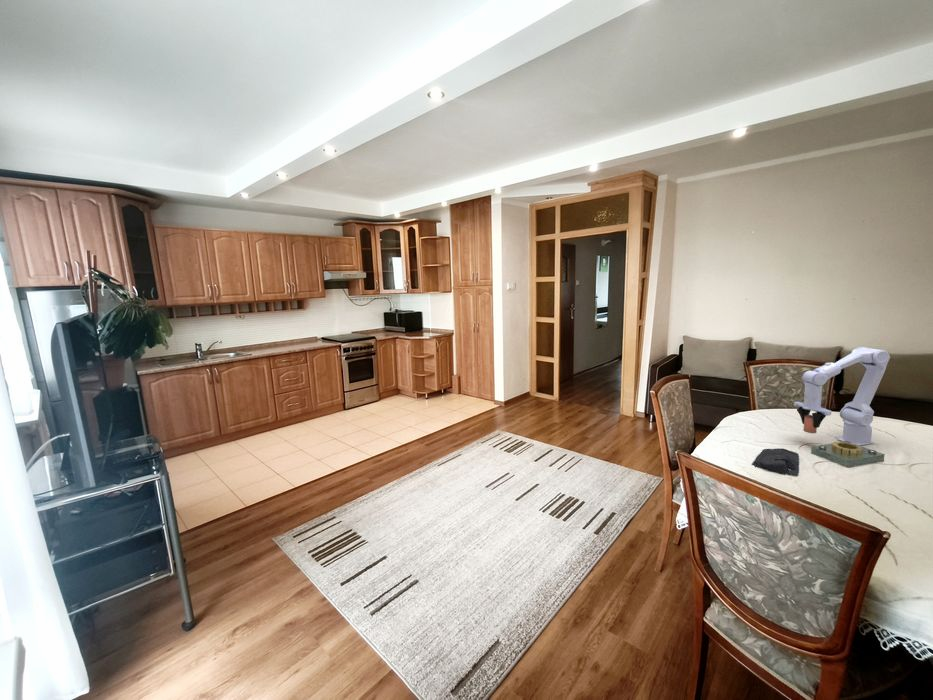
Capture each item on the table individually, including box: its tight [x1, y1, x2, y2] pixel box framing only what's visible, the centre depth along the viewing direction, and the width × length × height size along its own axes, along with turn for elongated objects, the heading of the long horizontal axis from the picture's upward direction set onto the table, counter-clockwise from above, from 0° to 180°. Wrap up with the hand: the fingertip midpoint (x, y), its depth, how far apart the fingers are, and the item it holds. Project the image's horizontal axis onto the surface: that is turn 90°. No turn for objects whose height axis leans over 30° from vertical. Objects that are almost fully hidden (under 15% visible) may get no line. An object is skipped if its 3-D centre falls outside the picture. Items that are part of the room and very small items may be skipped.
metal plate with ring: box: [810, 441, 885, 469], centre depth 158 cm, size 18×14×5 cm
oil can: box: [803, 414, 818, 434], centre depth 170 cm, size 4×4×8 cm
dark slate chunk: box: [751, 447, 800, 477], centre depth 159 cm, size 15×22×5 cm
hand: (810, 425), depth 170 cm, fingers closed on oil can, 4 cm apart
